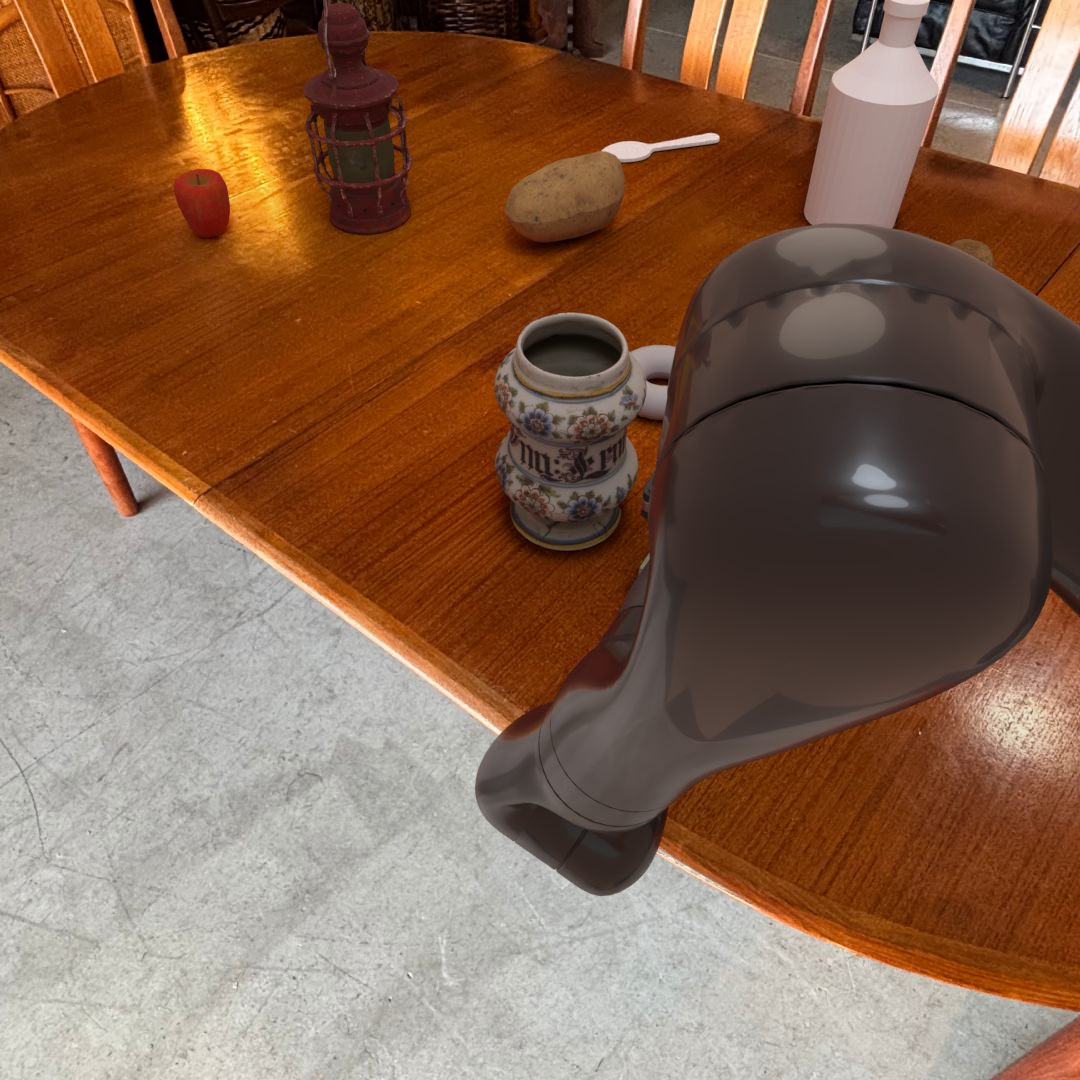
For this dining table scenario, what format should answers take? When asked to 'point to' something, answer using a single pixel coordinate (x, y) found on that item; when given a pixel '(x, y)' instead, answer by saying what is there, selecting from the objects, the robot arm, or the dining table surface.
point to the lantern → (357, 129)
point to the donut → (655, 365)
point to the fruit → (975, 250)
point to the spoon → (656, 146)
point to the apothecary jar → (568, 429)
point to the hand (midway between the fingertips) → (781, 451)
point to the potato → (567, 198)
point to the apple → (203, 201)
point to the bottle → (873, 126)
